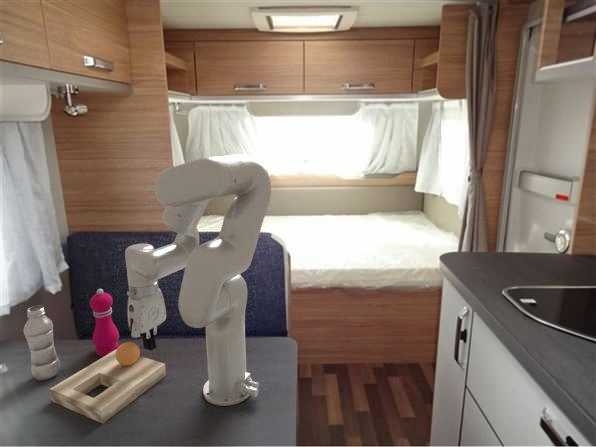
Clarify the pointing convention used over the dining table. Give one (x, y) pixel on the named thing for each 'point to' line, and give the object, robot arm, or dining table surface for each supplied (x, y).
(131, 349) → the ball
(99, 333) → the pepper mill
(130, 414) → the dining table surface
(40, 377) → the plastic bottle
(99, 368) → the hole board
